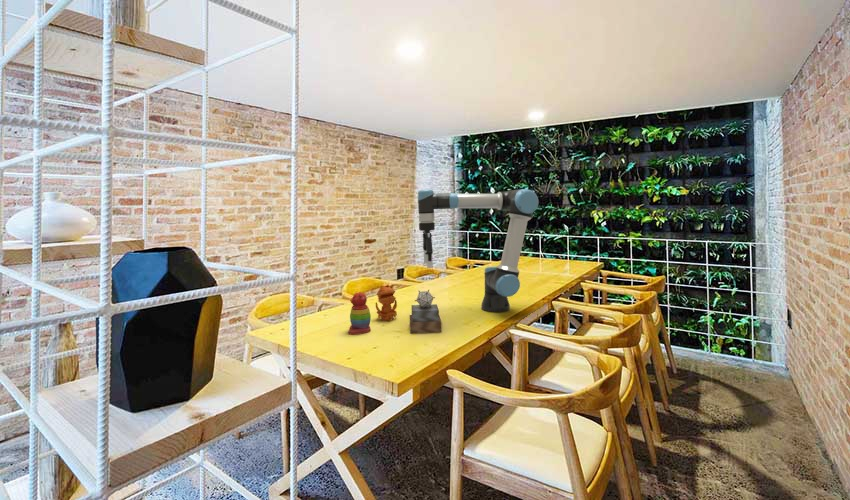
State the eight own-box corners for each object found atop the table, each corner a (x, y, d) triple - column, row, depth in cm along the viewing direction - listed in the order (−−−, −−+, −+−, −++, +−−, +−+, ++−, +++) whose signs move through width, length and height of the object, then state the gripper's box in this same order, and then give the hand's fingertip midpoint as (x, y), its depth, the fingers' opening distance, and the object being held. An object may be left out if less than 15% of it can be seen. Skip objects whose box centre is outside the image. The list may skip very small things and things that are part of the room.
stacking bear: (349, 327, 205) (348, 290, 203) (371, 327, 206) (370, 290, 204) (347, 334, 194) (346, 295, 192) (370, 334, 195) (369, 295, 193)
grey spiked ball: (428, 316, 200) (432, 302, 193) (411, 309, 201) (414, 294, 194) (434, 302, 206) (438, 288, 200) (417, 296, 207) (421, 282, 201)
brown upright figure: (381, 323, 211) (380, 287, 209) (372, 318, 221) (371, 283, 219) (401, 320, 216) (401, 284, 214) (393, 315, 226) (392, 281, 224)
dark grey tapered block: (438, 324, 208) (438, 303, 207) (441, 332, 196) (441, 310, 194) (409, 325, 208) (409, 304, 206) (410, 333, 195) (409, 311, 194)
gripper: (416, 221, 222) (418, 262, 224) (421, 224, 197) (423, 270, 200) (431, 220, 223) (432, 261, 225) (437, 223, 198) (439, 269, 201)
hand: (428, 265), depth 212 cm, fingers open, 13 cm apart
